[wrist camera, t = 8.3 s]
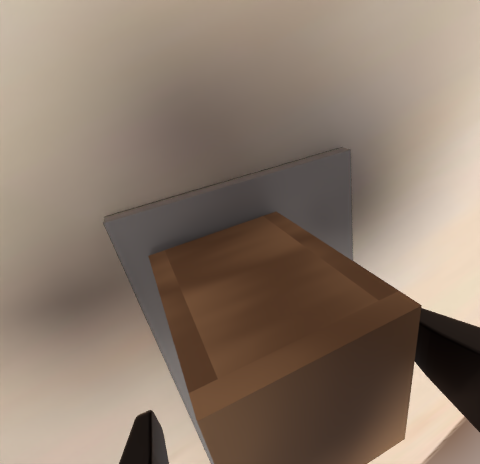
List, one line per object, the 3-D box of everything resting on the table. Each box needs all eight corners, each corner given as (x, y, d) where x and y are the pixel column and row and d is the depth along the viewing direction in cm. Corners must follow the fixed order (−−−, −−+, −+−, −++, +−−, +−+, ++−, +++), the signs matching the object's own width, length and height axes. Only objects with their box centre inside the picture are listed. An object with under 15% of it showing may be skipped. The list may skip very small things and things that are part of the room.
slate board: (239, 522, 23) (242, 532, 23) (104, 216, 11) (103, 223, 11) (352, 462, 25) (357, 469, 25) (341, 147, 13) (350, 149, 13)
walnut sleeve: (185, 356, 13) (246, 543, 8) (148, 255, 11) (196, 421, 5) (289, 309, 15) (404, 439, 9) (276, 211, 12) (421, 305, 7)
